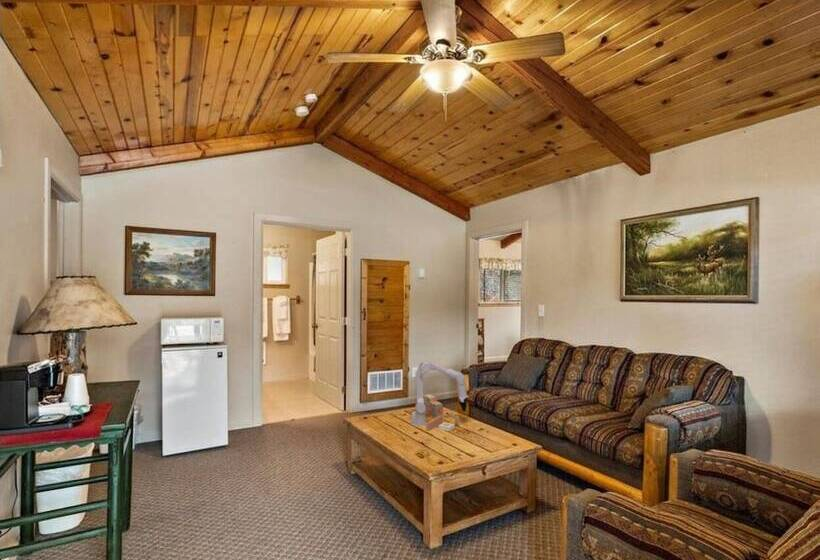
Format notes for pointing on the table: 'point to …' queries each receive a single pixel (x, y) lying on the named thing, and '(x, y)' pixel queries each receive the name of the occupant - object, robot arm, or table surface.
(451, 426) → the beige square frame
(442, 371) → the robot arm
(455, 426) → the birch dowel
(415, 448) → the table surface
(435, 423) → the wall
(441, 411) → the stack of blocks
